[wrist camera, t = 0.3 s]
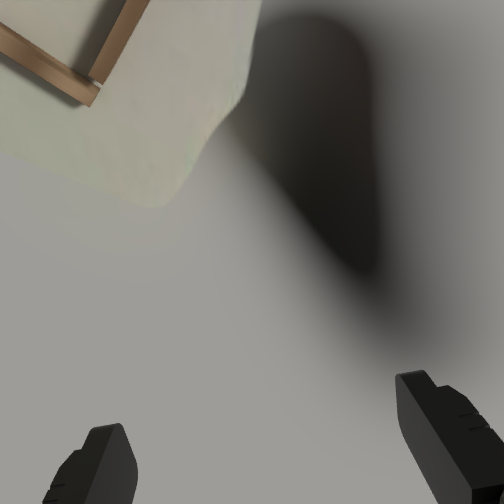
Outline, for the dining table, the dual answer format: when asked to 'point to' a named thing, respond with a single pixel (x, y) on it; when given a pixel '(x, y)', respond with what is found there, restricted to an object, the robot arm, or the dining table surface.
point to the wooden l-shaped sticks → (62, 75)
